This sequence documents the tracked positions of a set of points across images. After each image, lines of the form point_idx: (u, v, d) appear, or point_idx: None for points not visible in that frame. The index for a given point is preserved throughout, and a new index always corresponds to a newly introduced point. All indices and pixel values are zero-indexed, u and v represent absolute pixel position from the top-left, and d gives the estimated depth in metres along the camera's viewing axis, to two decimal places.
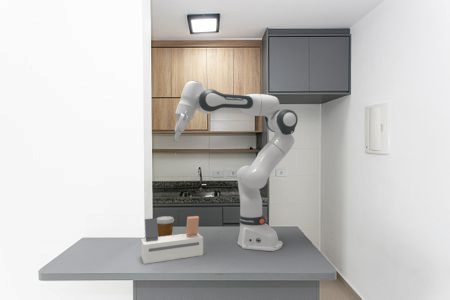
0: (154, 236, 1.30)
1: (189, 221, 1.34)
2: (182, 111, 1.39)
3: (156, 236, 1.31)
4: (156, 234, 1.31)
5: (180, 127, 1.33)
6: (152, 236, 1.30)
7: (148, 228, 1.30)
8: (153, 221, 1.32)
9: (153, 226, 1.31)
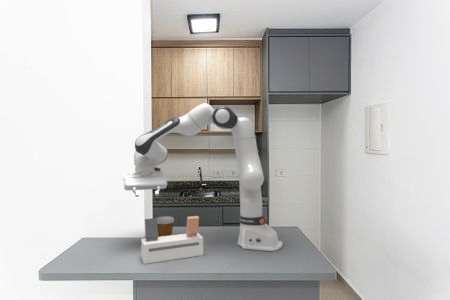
0: (154, 236, 1.30)
1: (189, 221, 1.34)
2: None
3: (156, 236, 1.31)
4: (156, 234, 1.31)
5: (124, 187, 1.42)
6: (152, 236, 1.30)
7: (148, 228, 1.30)
8: (153, 221, 1.32)
9: (153, 226, 1.31)
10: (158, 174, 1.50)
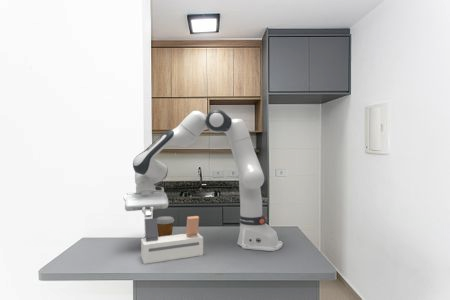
0: (154, 236, 1.30)
1: (189, 221, 1.34)
2: None
3: (156, 236, 1.31)
4: (156, 234, 1.31)
5: (125, 207, 1.39)
6: (152, 236, 1.30)
7: (148, 228, 1.30)
8: (153, 221, 1.32)
9: (153, 226, 1.31)
10: (159, 193, 1.47)
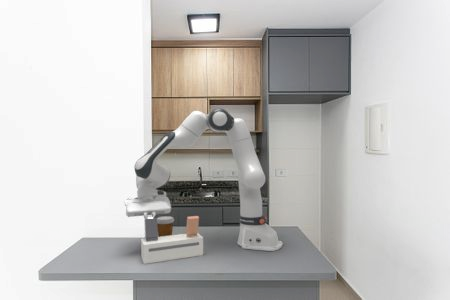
0: (154, 236, 1.30)
1: (189, 221, 1.34)
2: None
3: (156, 236, 1.31)
4: (156, 234, 1.31)
5: (126, 213, 1.34)
6: (152, 236, 1.30)
7: (148, 228, 1.30)
8: (153, 221, 1.32)
9: (153, 226, 1.31)
10: (161, 197, 1.42)
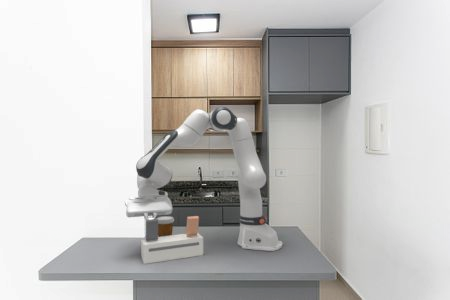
0: (154, 237, 1.30)
1: (189, 221, 1.34)
2: None
3: (156, 237, 1.30)
4: (156, 235, 1.30)
5: (126, 213, 1.31)
6: (152, 237, 1.30)
7: (149, 230, 1.28)
8: (154, 223, 1.29)
9: (154, 228, 1.29)
10: (163, 198, 1.38)
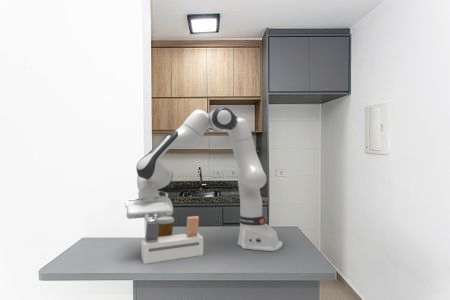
0: (154, 238, 1.30)
1: (189, 221, 1.34)
2: None
3: (156, 238, 1.30)
4: (156, 236, 1.30)
5: None
6: (152, 238, 1.29)
7: (149, 232, 1.28)
8: (155, 226, 1.27)
9: (154, 230, 1.28)
10: (163, 199, 1.37)
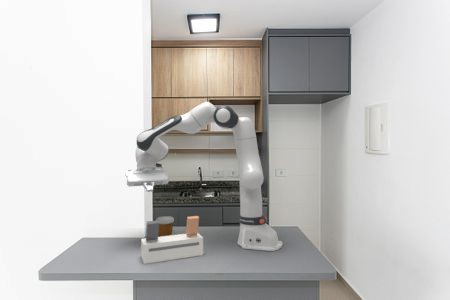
0: (154, 238, 1.30)
1: (189, 221, 1.34)
2: None
3: (156, 238, 1.30)
4: (156, 236, 1.30)
5: (127, 183, 1.43)
6: (152, 238, 1.29)
7: (149, 232, 1.28)
8: (155, 226, 1.27)
9: (154, 230, 1.28)
10: (160, 169, 1.51)
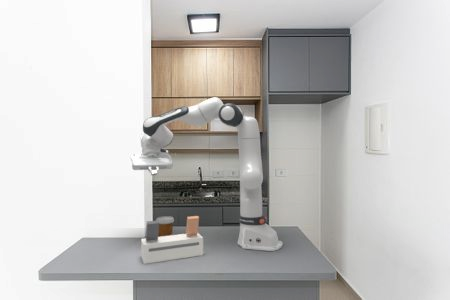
0: (154, 238, 1.30)
1: (189, 221, 1.34)
2: None
3: (156, 238, 1.30)
4: (156, 236, 1.30)
5: (132, 166, 1.48)
6: (152, 238, 1.29)
7: (149, 232, 1.28)
8: (155, 226, 1.27)
9: (154, 230, 1.28)
10: (164, 155, 1.56)
